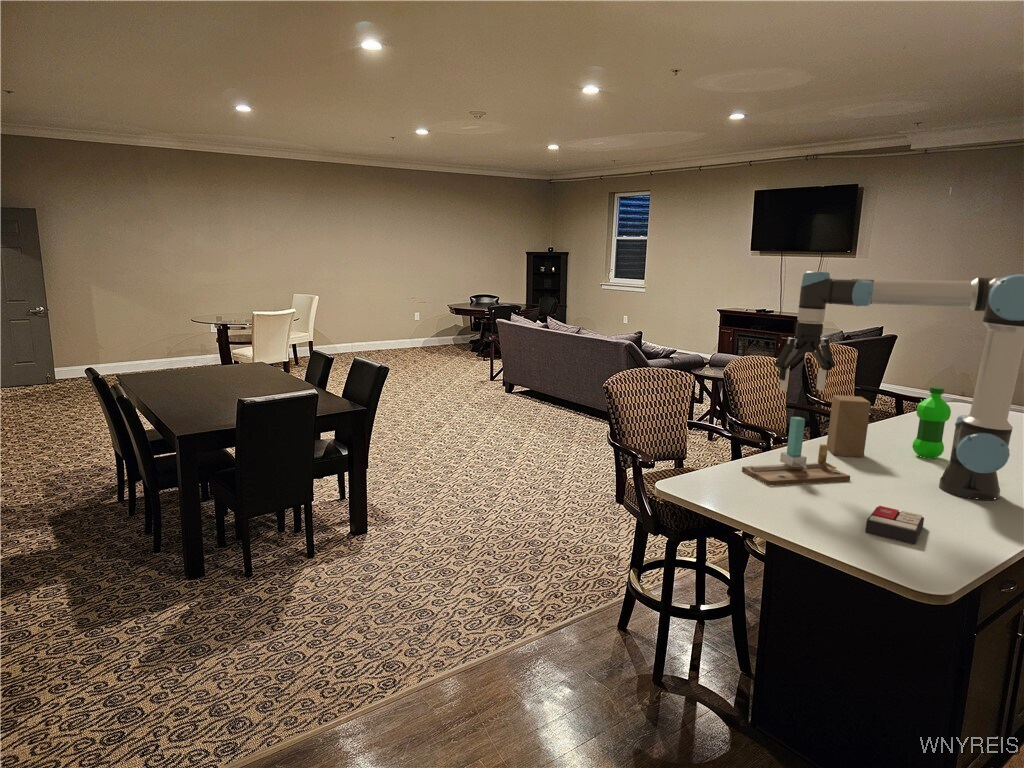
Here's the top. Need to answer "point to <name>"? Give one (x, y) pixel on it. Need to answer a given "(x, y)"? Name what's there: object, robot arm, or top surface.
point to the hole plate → (798, 472)
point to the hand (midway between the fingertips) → (801, 390)
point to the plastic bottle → (931, 424)
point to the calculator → (895, 524)
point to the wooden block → (848, 425)
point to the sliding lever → (795, 444)
